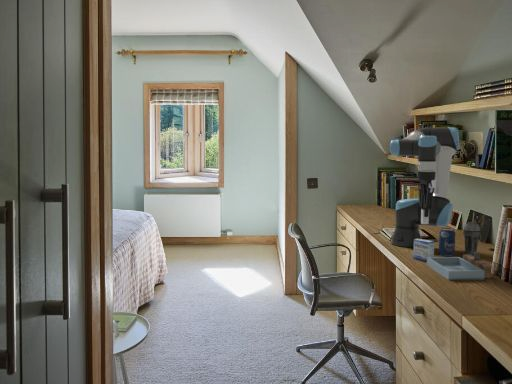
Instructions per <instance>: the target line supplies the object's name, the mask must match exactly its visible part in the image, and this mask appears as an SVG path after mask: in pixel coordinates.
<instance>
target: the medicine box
mask: <svg viewBox="0 0 512 384" xmlns="http://www.w3.org/2000/svg"><path fill="white" fill-rule="evenodd" d="M412 248H413V249H412V250H413V251H412V252H413V253H412V254H413V255H412V259H415V260H420V261H424V262H425V261H426V262H427V257H434V256H435V241H434V240H429V239H428V240H427V239H423V238H422V239H415V240H414V247H412Z"/></svg>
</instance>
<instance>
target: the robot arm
mask: <svg viewBox="0 0 512 384" xmlns="http://www.w3.org/2000/svg"><path fill="white" fill-rule="evenodd" d="M458 150H460V134H459V129H458V128H457V127H450V126H447V127H446V126H445V127H444V126H442V127H439V126H438V127H436V126H435V127H422V128H419V129H416V130H414V131H411V132H410V133H409V134H408V136H405V137H404V138H402V139H392V140H391V141H390V143H389V153H390V155H391V156H395V157H399V156H400V157H417V163H416V165H417V170H418V171H417V178H416V179H417V180H418V181H420V184H419V185H417V189H418V198H416V197H415V198H405V199H399V200H397V201H396V204H395V218H394V219H395V222H394V223H395V224H394V225H395V226H394V227H395V228H394V231H393V233H392V236H391V239H390V241H391V242H390V243H391V245H394V246H398V247H404V248H414V240H415V239H423V238H422V235H421V232H420V226H430V227H431V226H432V227H437V228H439V227H442V228H444V227H445V228H447V227H448V226H449V225H450V222H451V220H452V216H453V210H454V205H453V203H451V199H449V198H448V194H449V187H450V186H449V185H450V178H451V177H450V176H451V170H452V169H451V167H452V160H453V156H454V155H455V154H456V151H458Z"/></svg>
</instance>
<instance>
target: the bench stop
mask: <svg viewBox="0 0 512 384" xmlns="http://www.w3.org/2000/svg"><path fill="white" fill-rule="evenodd" d="M480 256H481V255H480V252H479V251H477V252H474V256H472V255H465V254H462V259H464V260H466V261H468V262H469V263H471V264H473V265H475V266H477V267H479V268H480V269H482V270H484V271H485V275H484V279H491V278H492V264H490V263H487V262H485V261H483V260H482V259H480V258H481V257H480Z"/></svg>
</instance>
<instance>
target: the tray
mask: <svg viewBox="0 0 512 384" xmlns="http://www.w3.org/2000/svg"><path fill="white" fill-rule="evenodd" d="M426 266H427V267H429V268H430V269H431V270H433V271H434V272H436V273H437V274H438V275H440V276H442V277H443V278H445V279H446V281H478V280H479V281H484V280H485V278H484V275H485V271H484V270H482V269H480V268H479V267H477V266H475V265H473V264H471V263H469V262H468V261H466V260H464V259H463V257H460V256H444V257H443V256H437V257H427V261H426Z"/></svg>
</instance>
